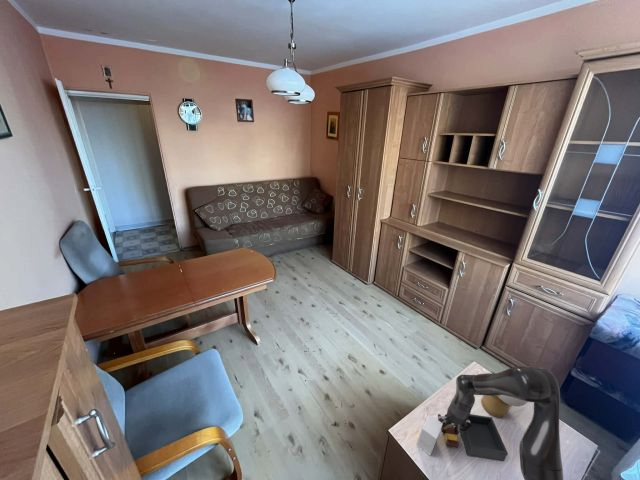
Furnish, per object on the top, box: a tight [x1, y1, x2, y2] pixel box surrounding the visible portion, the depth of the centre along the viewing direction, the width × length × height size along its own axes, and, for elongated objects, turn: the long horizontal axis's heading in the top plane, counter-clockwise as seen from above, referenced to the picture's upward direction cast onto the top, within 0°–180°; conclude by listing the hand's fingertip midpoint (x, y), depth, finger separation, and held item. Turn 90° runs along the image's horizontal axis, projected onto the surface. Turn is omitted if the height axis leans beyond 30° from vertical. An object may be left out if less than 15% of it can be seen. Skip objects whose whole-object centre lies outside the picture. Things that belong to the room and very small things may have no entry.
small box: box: [415, 413, 443, 457], centre depth 113 cm, size 8×6×13 cm
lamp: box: [480, 395, 528, 419], centre depth 125 cm, size 15×14×25 cm
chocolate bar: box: [442, 424, 460, 449], centre depth 119 cm, size 10×5×3 cm, turn 173°
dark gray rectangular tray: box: [459, 413, 509, 462], centre depth 117 cm, size 15×15×6 cm
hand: (448, 432), depth 119 cm, fingers closed on chocolate bar, 4 cm apart
